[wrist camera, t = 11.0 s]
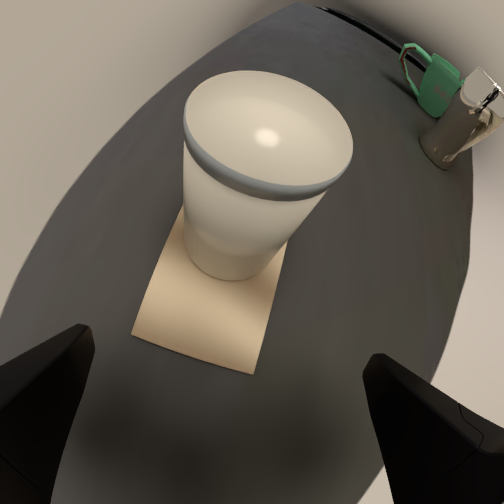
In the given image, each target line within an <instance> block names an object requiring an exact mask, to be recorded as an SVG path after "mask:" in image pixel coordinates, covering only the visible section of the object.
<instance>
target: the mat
mask: <svg viewBox="0 0 504 504" xmlns="http://www.w3.org/2000/svg"><path fill="white" fill-rule="evenodd" d="M287 241H288V240H287ZM286 245H287V242H286V243H285V244H284V245H283V247H282V248H281V249H280V250H279V252H278V253H277V254H276V255H275V256H274V258H273V259H272V260H271V261H270V263H269V264H268V265H267V266H266V267H265V268H264V269H263V270H262V271H261V272H260V273H258V274H256V275H255V276H253V277H250V278H247V279H244V280H238V281H228V280H222V279H218V278H215V277H212V276H210V275H208V274H207V273H205V272H204V271H202V270H201V269H200V268H199V267H198V266H196V264H195V263H194V262H193V261H192V259H191V258H190V256H189V254H188V252H187V250H186V246H185V242H184V213H183V206H182V208H181V210H180V212H179V215H178V217H177V219H176V221H175V223H174V226H173V228H172V230H171V232H170V235H169V237H168V239H167V242H166V244H165V246H164V249H163V251H162V253H161V256H160V258H159V261H158V263H157V266H156V268H155V270H154V273H153V276H152V278H151V281H150V283H149V286H148V288H147V291H146V294H145V296H144V299H143V302H142V304H141V307H140V310H139V313H138V316H137V318H136V321H135V324H134V327H133V330H132V333H131V335H134V336H136V337H139V338H141V339H144V340H146V341H149V342H151V343H154V344H157V345H159V346H162V347H165V348H168V349H170V350H173V351H176V352H179V353H182V354H185V355H188V356H191V357H194V358H197V359H200V360H203V361H206V362H210V363H213V364H216V365H220V366H223V367H226V368H230V369H234V370H237V371H241V372H245V373H249V374H254V370H255V367H256V363H257V359H258V356H259V352H260V348H261V345H262V341H263V337H264V333H265V330H266V326H267V322H268V318H269V314H270V310H271V306H272V302H273V298H274V294H275V290H276V286H277V282H278V278H279V274H280V270H281V266H282V262H283V258H284V253H285V249H286Z"/></svg>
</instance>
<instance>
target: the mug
mask: <svg viewBox="0 0 504 504" xmlns="http://www.w3.org/2000/svg"><path fill="white" fill-rule="evenodd" d="M409 50H414V51H415V52H417V53H418V54H420V56H422V58H423V59H424V60H425V61H426V63H427V64H428V67H427V70H426V72H425V74H424V76H423V80H422V83H421V86H420V90H419V91H418V89H417V88H416V86H415V85H414V83H413V82H412V80H411V79H410V78H409V76H408V72H407V67H406V63H405V59H404V57H405V55H406V54H407V52H408V51H409ZM398 60H399V63H400V66H401V69H402V73H403V76H404V80H405V81H406V83H407V84H408V86H409V87H410V88H411V90H412V91H413V93H414V94H415V96H416V97H417V101H418V103H419V105H420V106H421V107H422V108H423V109H424V110H425V111H426V112H427V113H428V114H430V115H431V116H433V117H435V118H437V117H439V116H442V114H443V112H444V110H445V108H446V107H447V105H448V103H449V101H450V99H451V98H452V96H453V95H454V93H455V91H456V90H457V89H458V87H459V86H460V85H461V84H462V83H463V81H464V80H465V79H466V78H465V79H462V80H459V77H460V72H459V71H458V70H457V69H455V68H454V67H453V66H452V65H451V64H450V63H448V62H447V61H446V60H444V59H443V58H442V57H440V56H438V55H437V54H433V55H432V56H431V57H430V56H429V55H428V54H427V53H426V52H425V51H424V50H423V49H422V48H420V47H419V46H418V45H416V44H415V43H412V44H404V46H403V49H402V51H401V54H400V56H399V59H398Z"/></svg>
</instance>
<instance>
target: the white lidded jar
mask: <svg viewBox="0 0 504 504" xmlns="http://www.w3.org/2000/svg"><path fill="white" fill-rule="evenodd" d="M183 135H184V170H183V213H184V242H185V246H186V250H187V252H188V254H189V256H190V258H191V259H192V261H193V262H194V263H195V264H196V266H198V267H199V268H200V269H201V270H202V271H204V272H205V273H207V274H208V275H210V276H212V277H215V278H218V279H222V280H228V281H238V280H244V279H247V278H250V277H253V276H255V275H256V274H258V273H260V272H261V271H262V270H263V269H264V268H265V267H266V266H267V265H268V264H269V263H270V261H271V260H272V259H273V258H274V256H275V255H276V254H277V253H278V252H279V250H280V249H281V248H282V247H283V245H284V244H285V243H286V242H287V240H288V239H289V238H290V237H291V235H292V234H293V233H294V232H295V230H296V229H297V228H298V227H299V225H300V224H301V223H302V222H303V220H304V219H305V218H306V217H307V215H308V214H309V213H310V212H311V210H312V209H313V208H314V207H315V205H316V204H317V203H318V202H319V200H320V199H321V198H322V196H323V195H324V194H325V193H326V191H327V190H328V189H329V188H330V187H332V186H333V185H334V183H335V182H336V181H337V180H338V178H339V177H340V176H341V175H342V173H343V172H344V171H345V169H346V168H347V167H348V165H349V163H350V161H351V158H352V154H353V141H352V136H351V133H350V130H349V128H348V125H347V123H346V122H345V120H344V118H343V117H342V116H341V114H340V113H339V112H338V110H337V109H336V108H335V107H334V106H333V105H332V104H331V103H330V102H329V101H328V100H326V99H325V98H324V97H323V96H321V95H320V94H319V93H317V92H316V91H314V90H313V89H311V88H309V87H307V86H306V85H304V84H302V83H299V82H297V81H295V80H293V79H290V78H287V77H284V76H281V75H277V74H273V73H268V72H261V71H234V72H228V73H223V74H220V75H217V76H214V77H212V78H210V79H208V80H206V81H204V82H203V83H201V84H200V85H199V86H198V87H196V88H195V90H194V91H193V92H192V93H191V94H190V96H189V98H188V99H187V101H186V105H185V108H184V123H183Z"/></svg>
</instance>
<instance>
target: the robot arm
mask: <svg viewBox="0 0 504 504" xmlns="http://www.w3.org/2000/svg"><path fill="white" fill-rule="evenodd" d="M94 353H95V345H94V340H93V335H92V330H91V328H90V327H89V326H87V325H83V324H76V325H74V326H72V327H71V328H69V329H67V330H65V331H63V332H61V333H59V334H57V335H56V336H54V337H52V338H50V339H48V340H46V341H45V342H43V343H41V344H39V345H37V346H35V347H34V348H32V349H30V350H28V351H26V352H24V353H23V354H21V355H19V356H17V357H15V358H14V359H12V360H10V361H8V362H6V363H5V364H3V365H1V366H0V504H50V502H51V497H52V492H53V488H54V484H55V480H56V476H57V472H58V468H59V464H60V461H61V457H62V454H63V450H64V447H65V444H66V441H67V438H68V435H69V432H70V429H71V426H72V423H73V420H74V417H75V414H76V411H77V409H78V406H79V403H80V401H81V398H82V395H83V392H84V389H85V385H86V381H87V377H88V374H89V370H90V367H91V363H92V360H93V357H94ZM363 382H364V387H365V391H366V396H367V401H368V407H369V411H370V415H371V419H372V422H373V426H374V429H375V432H376V436H377V439H378V443H379V446H380V450H381V454H382V457H383V461H384V465H385V469H386V473H387V476H388V481H389V485H390V489H391V493H392V498H393V501H394V504H504V428H502V427H500V426H498V425H496V424H494V423H492V422H490V421H489V420H487V419H484V418H483V417H481V416H479V415H478V414H476V413H474V412H472V411H471V410H469V409H467V408H466V407H464V406H463V405H461V404H460V403H458V402H457V401H455V400H454V399H452V398H450V397H449V396H448V395H446V394H445V393H443V392H441V391H440V390H438V389H437V388H435V387H434V386H432V385H431V384H429V383H428V382H426V381H425V380H423V379H422V378H420V377H419V376H417V375H416V374H414V373H413V372H411V371H410V370H408V369H407V368H405V367H404V366H402V365H401V364H399V363H398V362H396V361H395V360H393V359H392V358H390V357H389V356H387V355H386V354H383V353H379V354H373V355H372V356H371V358H370V360H369V361H368V363H367V365H366V367H365V369H364V371H363Z"/></svg>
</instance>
